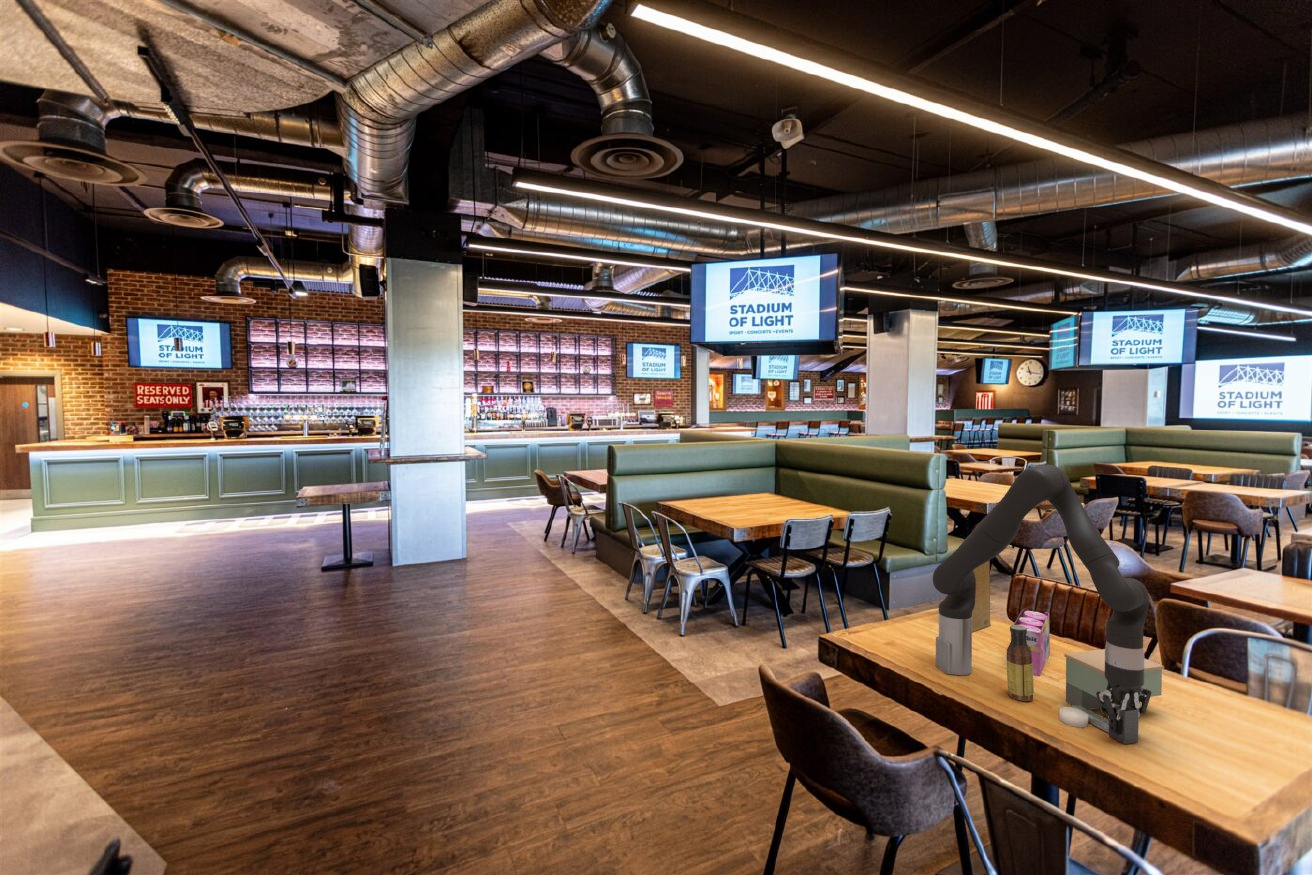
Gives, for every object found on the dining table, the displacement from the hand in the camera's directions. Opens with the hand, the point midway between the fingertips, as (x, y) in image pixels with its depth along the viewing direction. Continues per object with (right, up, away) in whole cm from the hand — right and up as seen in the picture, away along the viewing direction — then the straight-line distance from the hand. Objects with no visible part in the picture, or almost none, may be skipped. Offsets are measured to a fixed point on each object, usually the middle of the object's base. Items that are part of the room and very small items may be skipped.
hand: (1123, 731), depth 144 cm
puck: (-6, -2, +9) cm, 11 cm away
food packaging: (+4, +1, +78) cm, 78 cm away
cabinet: (+9, -1, +15) cm, 17 cm away
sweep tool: (-1, -2, +5) cm, 6 cm away
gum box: (+7, -1, +46) cm, 46 cm away
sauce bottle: (-11, -2, +22) cm, 25 cm away
